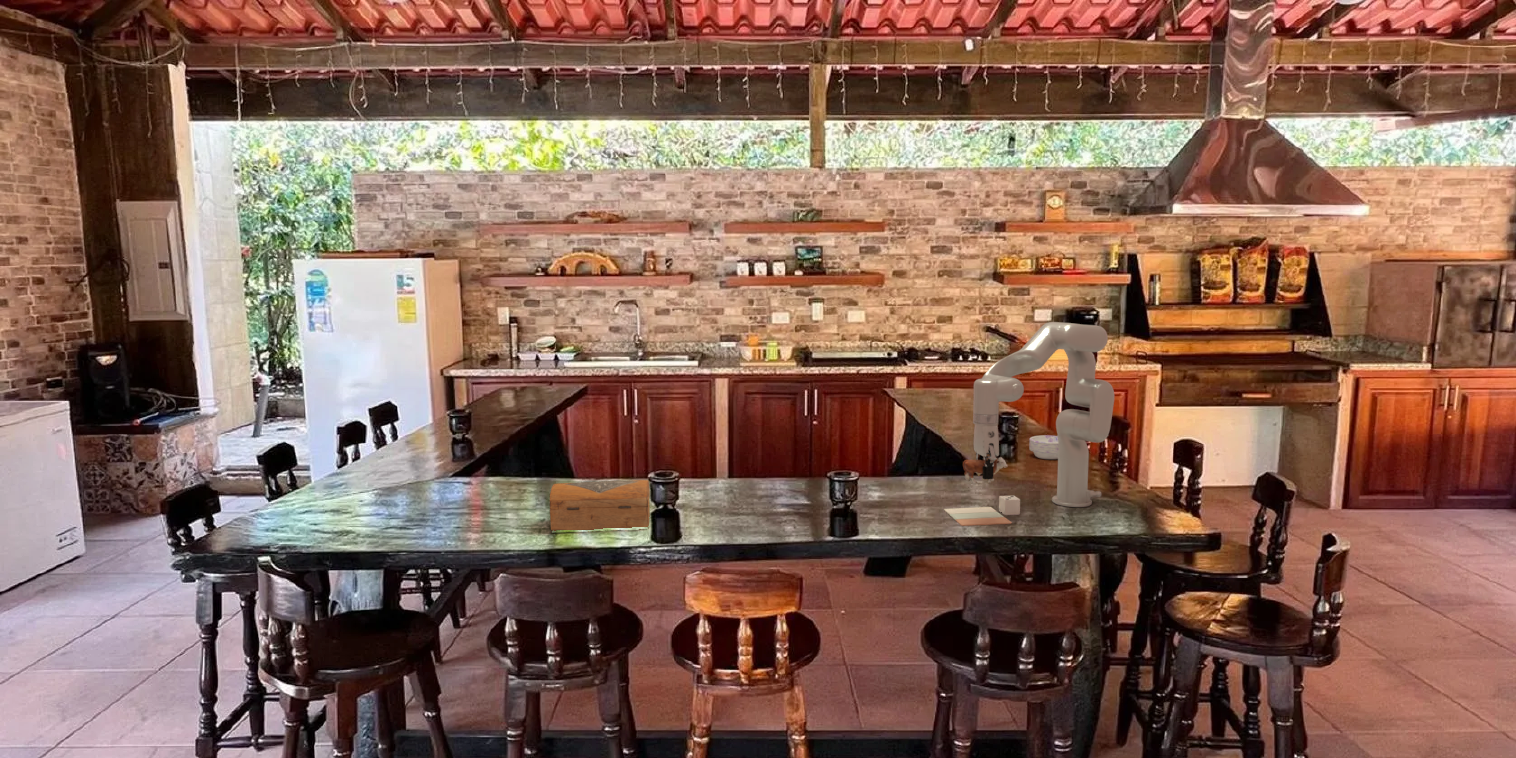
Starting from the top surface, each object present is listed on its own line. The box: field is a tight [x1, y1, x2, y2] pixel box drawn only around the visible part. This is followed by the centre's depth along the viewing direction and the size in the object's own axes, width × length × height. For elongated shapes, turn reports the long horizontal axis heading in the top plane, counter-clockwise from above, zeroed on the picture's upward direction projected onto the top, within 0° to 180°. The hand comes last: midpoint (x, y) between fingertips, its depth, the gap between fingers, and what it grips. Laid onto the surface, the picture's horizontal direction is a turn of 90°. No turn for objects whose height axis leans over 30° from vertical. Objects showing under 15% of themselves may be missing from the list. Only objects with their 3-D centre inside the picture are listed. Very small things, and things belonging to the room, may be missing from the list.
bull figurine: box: [962, 456, 1009, 484], centre depth 272 cm, size 4×13×8 cm, turn 80°
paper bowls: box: [1028, 434, 1059, 460], centre depth 362 cm, size 15×15×8 cm
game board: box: [943, 506, 1013, 527], centre depth 280 cm, size 16×18×1 cm
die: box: [998, 495, 1021, 516], centre depth 284 cm, size 5×5×5 cm
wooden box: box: [549, 479, 651, 531], centre depth 276 cm, size 30×16×14 cm, turn 94°
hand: (984, 476), depth 272 cm, fingers closed on bull figurine, 4 cm apart
